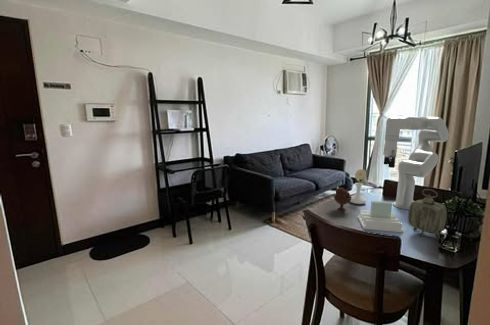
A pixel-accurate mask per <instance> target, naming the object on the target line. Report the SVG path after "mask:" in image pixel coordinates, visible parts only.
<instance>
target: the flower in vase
mask: <svg viewBox="0 0 490 325" xmlns="http://www.w3.org/2000/svg"><path fill="white" fill-rule="evenodd" d="M354 175H355V176H354V178H355V179H356V181H357V182H355V183H354V184H355V187H356V191H355V194H354V195H351V197H352V198H351V200H350V202H349V203H352V204H355V205H363V204H366V203H367V199H366V198H365V197H363V195H362V194H361V188H362V186H363V185H366V184H367V183H366V181H365V180H364V179H365V178H366V176H367V171H366V170H365V169H364V168H363V169H362V168H361V169H357V170H356V172H355V174H354ZM360 180H361V181H360Z"/></svg>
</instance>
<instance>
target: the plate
mask: <svg viewBox="0 0 490 325" xmlns="http://www.w3.org/2000/svg"><path fill="white" fill-rule="evenodd" d="M370 202H371V203H370V210H369V211H370V217H377V218H389V219H390V218H391V213H392V207H393V203H392V202H391V201H382V200H371V201H370Z"/></svg>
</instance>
